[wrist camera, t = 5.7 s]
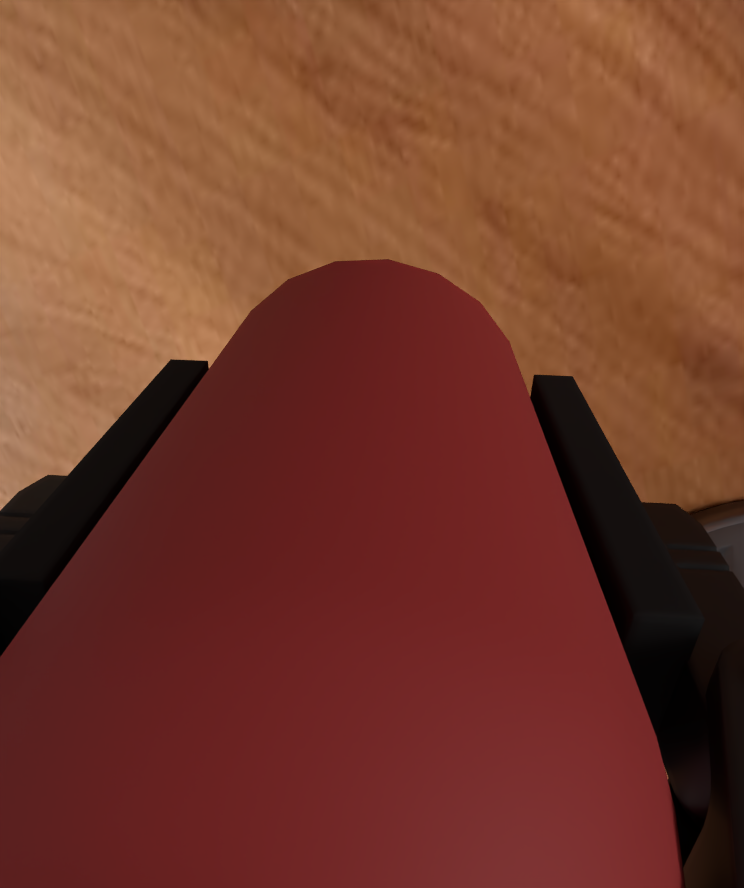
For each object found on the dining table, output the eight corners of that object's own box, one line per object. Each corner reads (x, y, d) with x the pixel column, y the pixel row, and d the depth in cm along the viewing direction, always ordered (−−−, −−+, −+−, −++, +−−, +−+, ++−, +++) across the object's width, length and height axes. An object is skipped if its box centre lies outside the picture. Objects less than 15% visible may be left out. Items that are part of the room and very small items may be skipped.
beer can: (228, 232, 13) (-572, 861, 2) (549, 271, 13) (1132, 1064, 2) (230, 498, 16) (-105, 1252, 6) (486, 528, 16) (621, 1337, 6)
